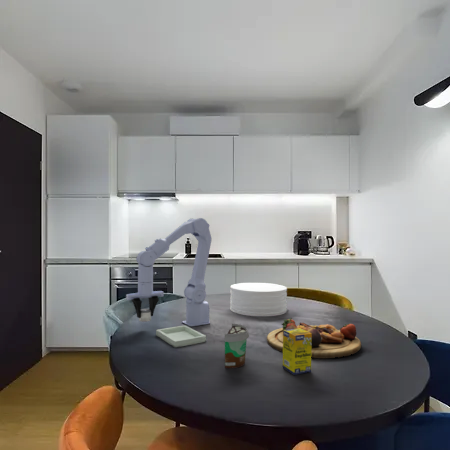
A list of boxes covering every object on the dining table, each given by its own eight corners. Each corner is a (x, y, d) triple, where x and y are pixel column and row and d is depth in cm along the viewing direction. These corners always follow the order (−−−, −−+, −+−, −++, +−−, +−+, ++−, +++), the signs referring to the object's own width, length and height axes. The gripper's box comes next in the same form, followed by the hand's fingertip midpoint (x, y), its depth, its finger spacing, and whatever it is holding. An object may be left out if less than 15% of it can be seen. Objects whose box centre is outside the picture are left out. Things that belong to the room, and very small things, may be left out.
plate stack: (295, 308, 179) (295, 285, 179) (272, 319, 155) (272, 293, 155) (247, 301, 194) (247, 281, 194) (219, 311, 170) (219, 287, 170)
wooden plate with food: (359, 336, 133) (359, 314, 133) (363, 365, 103) (362, 337, 103) (276, 328, 144) (276, 308, 144) (257, 353, 114) (257, 327, 114)
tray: (185, 330, 136) (185, 325, 136) (206, 341, 123) (206, 335, 123) (156, 335, 130) (156, 329, 130) (175, 347, 116) (175, 341, 116)
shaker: (148, 318, 140) (148, 308, 140) (152, 320, 136) (152, 310, 136) (137, 319, 137) (137, 309, 137) (141, 322, 134) (141, 311, 134)
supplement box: (294, 375, 95) (294, 335, 95) (282, 367, 100) (282, 329, 101) (312, 372, 97) (312, 333, 98) (299, 364, 103) (299, 327, 103)
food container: (245, 372, 97) (246, 336, 97) (223, 370, 98) (224, 334, 98) (251, 356, 109) (251, 324, 109) (231, 355, 110) (232, 323, 110)
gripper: (158, 279, 144) (158, 312, 144) (123, 281, 136) (123, 316, 136) (165, 281, 138) (165, 315, 138) (129, 284, 130) (129, 320, 130)
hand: (145, 316), depth 137 cm, fingers closed on shaker, 4 cm apart
